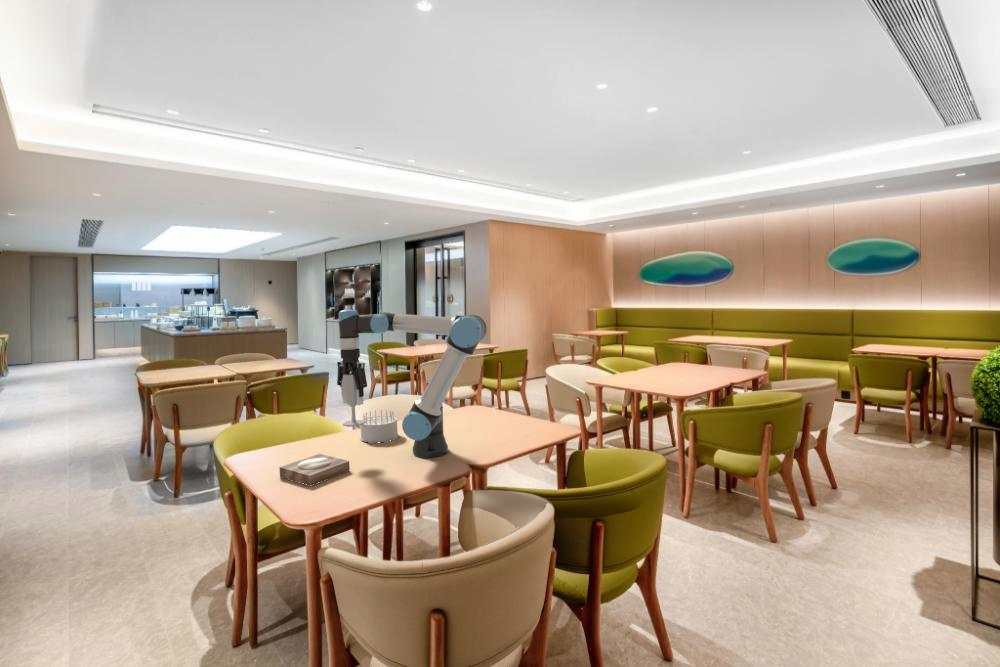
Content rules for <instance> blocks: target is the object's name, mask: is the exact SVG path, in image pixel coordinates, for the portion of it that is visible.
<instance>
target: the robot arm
mask: <svg viewBox="0 0 1000 667" xmlns="http://www.w3.org/2000/svg"><path fill="white" fill-rule="evenodd" d="M338 331H339V332H338V333H339V348H340V350H339V351H340V352H339V353H340V358H341V359H342V361H337V363H336V364H337V380H336V384H337V386H339V387H340V388H341V386H342V379H343V375H344V374H349V373H352V374H353V375H354V379H355V382H356V385H357V389H356V395H357V405H356V406H361V405H364V396H365V394H364V389H365V388H367V387H368V381H367V375H366V369H365V367H366V363H365V362H360V361H359V360H360V359H359V358H361V350H360V348H359V347H360V334H383V333H384V334H385V333H386V332H401V333H413V334H428V335H438V336H439V335H440V336H448V337H447V338H446V341H445V343H446V346H447V347H446V349H445V350H444V353H443V355H442V356H441V358H440V361H439V362H438V364H437V367H436V368H435V370H434V372H433V374H432V376H431V378H430V380H429V382H428V383H427V385H426V388H425V389H424V391H423V393H422V395H421V397H420V398H417V399H415V401H414V402H413V404H412V405H411V408H410V409H409V412H408V413H407V414H406V415H405V416H404V418H403V419H402V423H401V425H402V426H401V427H402V431H403V433H404V435H405V436H407V438H409V439H410V440H413V441H414V442H413V446H412V455H413V454H414V455H413V456H415V457H418V456H419V458H425V457H429V458H437V457H441V456H443V455H446V454H447V453H448V452H449V446H448V443H447V441H446V438H445V434H444V410H443V409H444V406H443V403H444V401H445V399H446V397H447V395H448V393H449V391H451V390H450V389H451V388H452V385H453V383H454V382H455V380H456V379H457V376H458V375H459V373H460V371H461V369H462V367H463V364H464V363H465V361H466V359H467V357H470V356H473V354H474V352H475V350H476V349H477V347H478V344H479V343H480V342H481V341H482V340H483V339H484V338H485V336H486V334H487V324H486V321H485V320H484V319H483V318H482V317H481V316H480V315H476V314H468V315H458V314H457V315H454V317H451V316H434V315H421V314H406V313H405V314H404V313H391V312H387V311H386V312H382V313H381V312H380V313H373V314H359V313H358V310H356V309H347V310H345V309H344V310H340V311H339V312H338ZM341 394H342V392H341ZM341 399H342V404H346V403H345V402H344V400H343V398H341Z"/></svg>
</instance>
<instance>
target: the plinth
mask: <svg viewBox="0 0 1000 667" xmlns="http://www.w3.org/2000/svg"><path fill="white" fill-rule="evenodd" d="M349 470H350V460H347V459H342V458H339V457H334V456H330V455H326V454H322V453H317V454H315V455H312V456H308V457H305V458H303V459H299V460H297V461H294V462H291V463H288V464H285V465H282V466H279V478H280V477H283V478H286V479H285V480H287V479H289V480H288V481H290V480H293V481H297V482H300V483H304V484H307V485H313V484H316V483H318V482H321V481H323V482H325V481H324V480H326V479H328V480H330V479H329V478H331V477H333V478H335V477H334V476H336V475H338V476H340V475H339V474H341V475H343V474H345V473H344V472H346V473H348V472H350V471H351V470H350V471H349ZM347 471H348V472H347ZM342 473H343V474H342ZM336 477H337V476H336ZM283 478H282V479H283ZM331 479H332V478H331ZM293 481H292V482H293ZM326 481H327V480H326ZM297 482H296V483H297ZM300 483H299V484H300ZM321 483H322V482H321ZM304 484H303V485H304ZM318 484H319V483H318ZM307 485H306V486H307ZM316 485H317V484H316ZM313 486H314V485H313Z"/></svg>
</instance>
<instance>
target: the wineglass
mask: <svg viewBox="0 0 1000 667" xmlns="http://www.w3.org/2000/svg"><path fill="white" fill-rule="evenodd" d="M340 388H341V389H340V391H341V392H342V393H341V397H342V398H343V399H342V398H341V399H342V401H343V400H344V402H345V403H344V404H347V405H348V406H349V407H351V419H350V420H347V421H345V422H343V423H342V426H343V427H347V428H349V427H359V426H360V425H363V424H364V423H365V421H364V420H363V419H356V406H358V405H357V395H356V389H357V385H356V382H355V379H354V375H353V374H352V373H351V372H350V373H349V374H344V375H343V379H342V386H341V387H340Z"/></svg>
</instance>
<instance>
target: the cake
mask: <svg viewBox="0 0 1000 667" xmlns="http://www.w3.org/2000/svg"><path fill="white" fill-rule="evenodd" d="M374 413H375V414H374V416H372V411H371V410H370V412H369V417H368V413H367V412H365V414H363V419H362V420H364V421H365V423H364V424H363V425H360V437H359V441H361V442H362V441H364V442H363V443H365V442H368V443H367V444H379V443H378V442H384V443H386V442H385V441H389V442H391V441H390V440H393V439H395V440H397V439H398V438H399V437H400V435H399V430H398V418H397V417H395V416H394V411H391V409H390V410H389V415H388V410H387V409H385V415H383V412H382V409H380V415H377V410H376V409H375V410H374ZM398 436H399V437H398ZM396 438H397V439H396ZM393 441H394V440H393Z"/></svg>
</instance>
